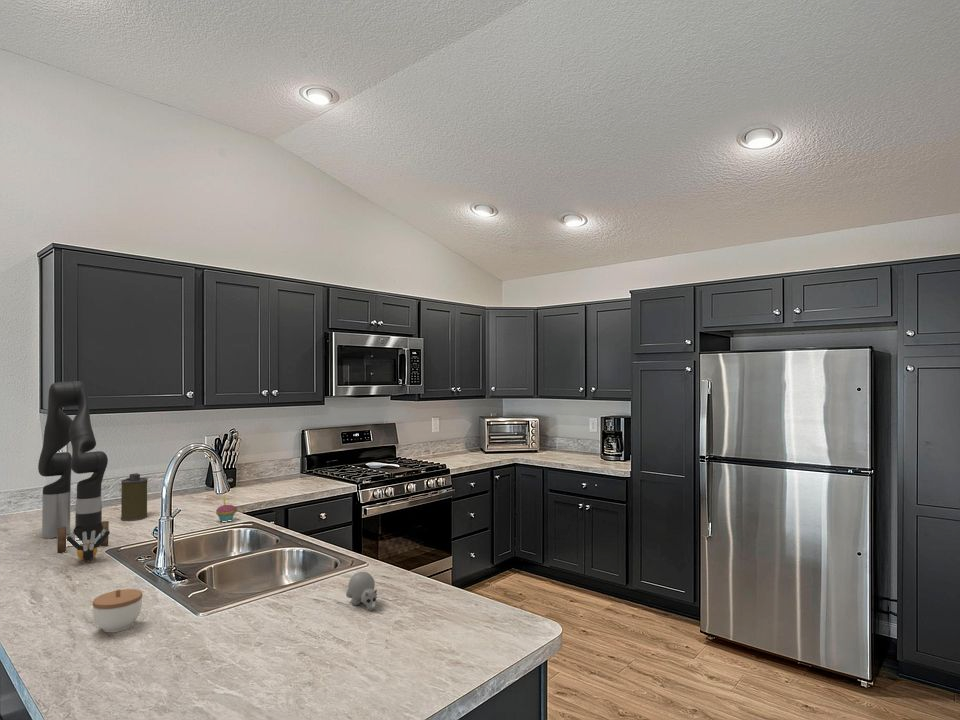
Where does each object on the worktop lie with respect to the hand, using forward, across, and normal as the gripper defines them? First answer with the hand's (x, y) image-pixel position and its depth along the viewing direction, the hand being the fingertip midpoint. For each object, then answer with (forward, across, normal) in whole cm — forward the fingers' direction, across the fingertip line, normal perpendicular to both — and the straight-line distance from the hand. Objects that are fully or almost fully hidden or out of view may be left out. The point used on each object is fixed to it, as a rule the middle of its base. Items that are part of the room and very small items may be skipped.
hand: (88, 560), depth 200 cm
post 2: (+1, -7, -20) cm, 21 cm away
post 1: (+1, +6, -20) cm, 21 cm away
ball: (-2, 0, -4) cm, 5 cm away
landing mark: (+1, 0, -34) cm, 34 cm away
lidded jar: (0, -1, +68) cm, 68 cm away
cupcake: (+1, -53, -30) cm, 61 cm away
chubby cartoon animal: (-1, -56, +95) cm, 110 cm away
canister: (+2, -22, -63) cm, 67 cm away
